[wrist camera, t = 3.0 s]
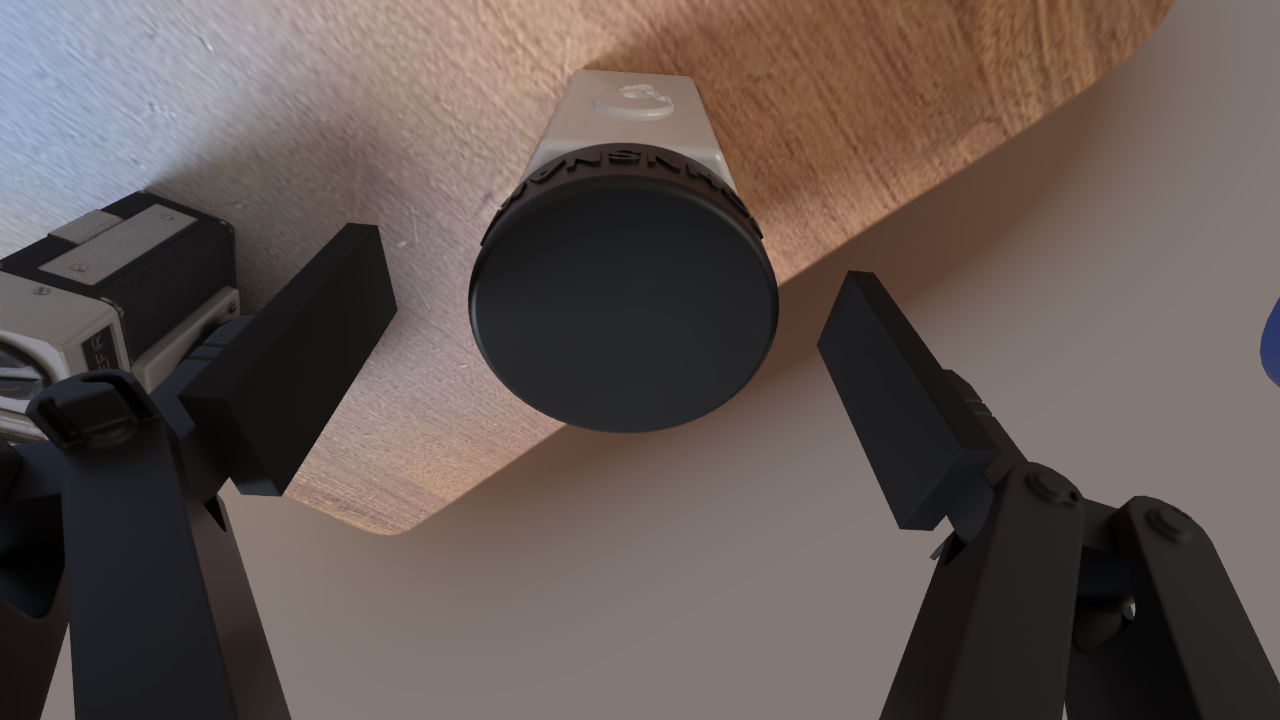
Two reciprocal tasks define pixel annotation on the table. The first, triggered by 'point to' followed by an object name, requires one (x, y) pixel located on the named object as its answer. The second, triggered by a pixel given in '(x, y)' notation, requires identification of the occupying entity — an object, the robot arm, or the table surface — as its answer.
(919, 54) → the table surface
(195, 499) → the robot arm
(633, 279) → the jar
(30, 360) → the camera
